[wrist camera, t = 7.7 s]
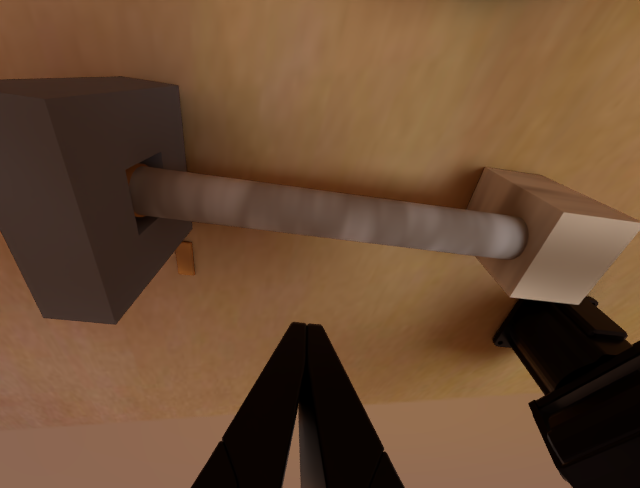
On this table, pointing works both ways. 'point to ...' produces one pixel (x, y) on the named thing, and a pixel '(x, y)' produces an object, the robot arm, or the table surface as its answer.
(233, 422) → the robot arm
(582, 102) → the table surface
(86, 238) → the square block with hole
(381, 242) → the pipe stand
